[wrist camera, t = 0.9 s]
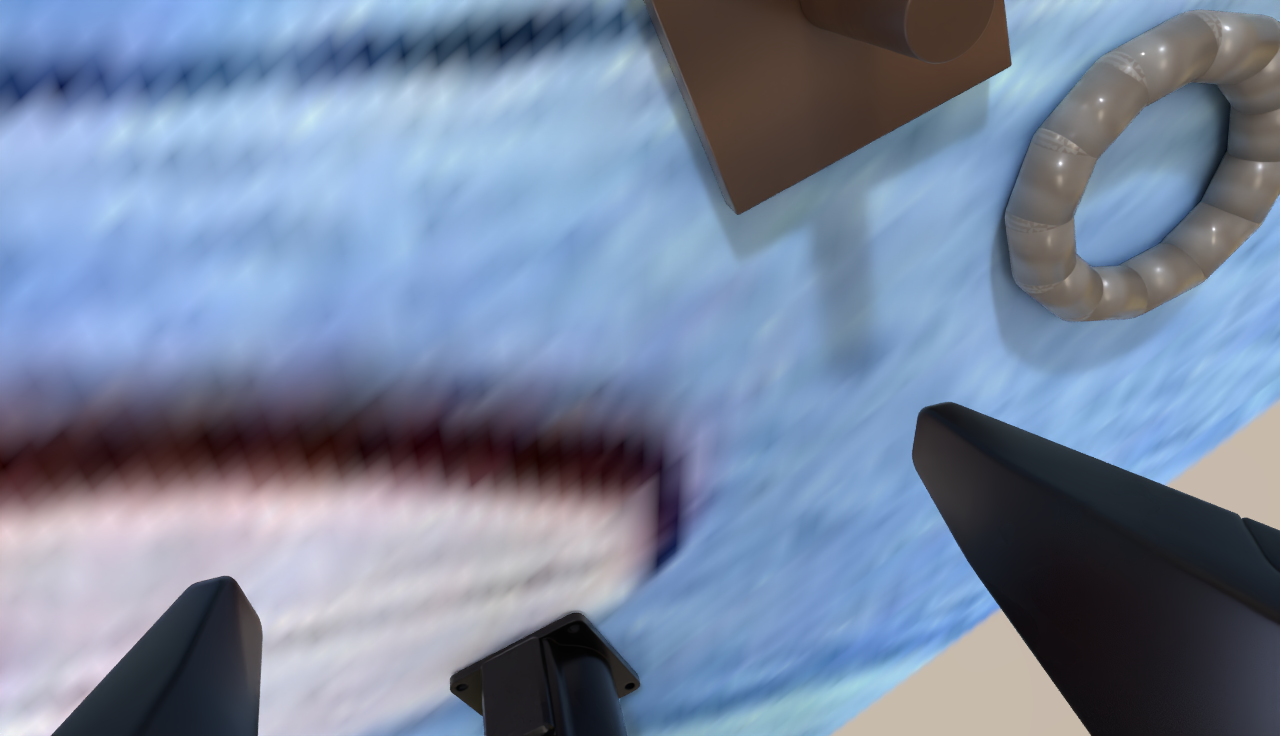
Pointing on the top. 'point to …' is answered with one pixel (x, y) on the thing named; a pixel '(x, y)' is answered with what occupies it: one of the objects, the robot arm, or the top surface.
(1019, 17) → the top surface
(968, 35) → the tape stand
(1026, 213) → the grey-brown segmented ring
